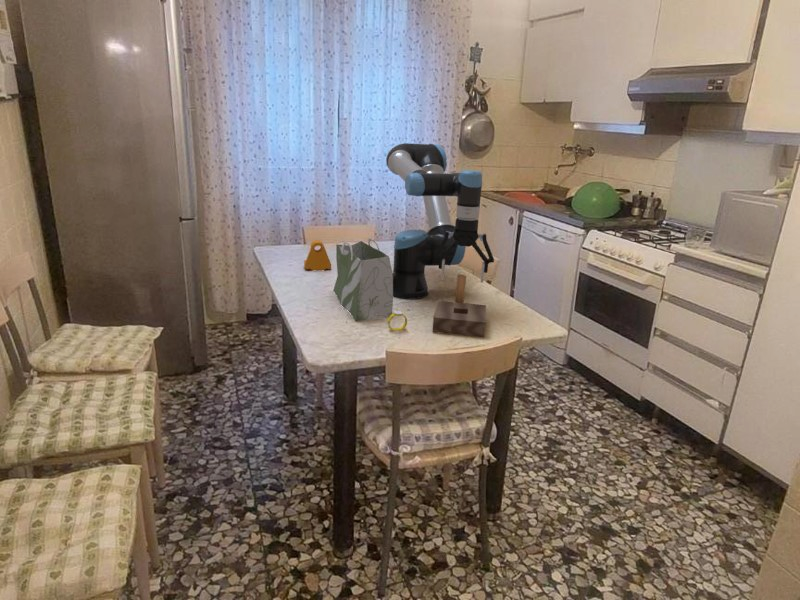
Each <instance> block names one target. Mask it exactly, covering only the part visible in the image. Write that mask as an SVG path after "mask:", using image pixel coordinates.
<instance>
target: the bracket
mask: <svg viewBox="0 0 800 600" xmlns="http://www.w3.org/2000/svg"><path fill="white" fill-rule="evenodd" d="M317 246H320V248H319V249H315V248H316V247H317ZM303 264H304V265H303V266H304V269H305V270H311V271H312V270H324V271H326V270H327V269H328V270H329V269H332V263H331V260H330V259H329V256H328V253H327V251H326V248H325V245H324V243H323V241H321V240H317V239H316V240H313V241H311V244H310V249H309V252H308V254H307V257H306V259H305V260H303Z"/></svg>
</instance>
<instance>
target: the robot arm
mask: <svg viewBox="0 0 800 600" xmlns="http://www.w3.org/2000/svg"><path fill="white" fill-rule="evenodd" d="M385 159H386V160H385V162H386V165H387V168H388V170H389V171H390V172H392V174H394V175H396V176H397V175H398V176H399V177H400V178H401V180H403V182H404V189H405V193H406V194H407V195H408V196H411V197H412V196H414V197H422V198H423V199H422V200H423V203H424V208H425V212H426V213H425V214H426V217H427V223H428V228H429V229H428V231H426V230H424V229H407V230H403V231H400V232H398V233H397V234H396V235H395V237H394V245H393V248H394V249H393V268H392V273H393V297H395V298H399V299H405V300H406V299H408V300H413V299H421V298H424V297H426V296H428V295H429V287H428V282H427V278H426V274H425V269H426V267H427V266H428V267H429V266H430V267H433V266H438V270H441V274H440V279H441V280H444V277H445V267H446V266H455V265H459V264H460V263H461V262H462V261H463V260H464V257H465V255H466V247H467V248H469V247H471V246H472V248H473V249H474V250H475V252H476V253H477V254H478V256H479V257H480V259H481V260H482V262H481V263H482V264H481V265H482V267H481V274H480V283H484V275H485V274H486V273H488V268H489V264H491V263H494V262H495V258H494V256H493V252H492V249H491V248H490V246H489V243H488V241H487V240H488V239H487V233H482V234H480V233H478V229H479V217H480V210H481V209H480V206H481V196H482V186H483V173H482V172H481V171H479V170H473V169H472V170H471V169H463V170H460V171H459V172H452V173H451V172H450V173H446V169H447V164H448V162H447V160H448V159H447V153H446V151H445V149H444V147H443V146H442V145H439V144H435V143H434V144H433V143H429V144H426V143H424V144H423V143H409V142H408V143H407V142H406V143H405V142H404V143H400V144H397V145H395V146H393V147H392V148H391V149H390V150H389V151H388V153H387V155H386V158H385ZM446 197H457V199H456V200H457V201H456V213H455V217H457V218H456V219H455V223H454V224H452V219H451V216H450V212H449V211H450V210H449V206H448V201H447V198H446ZM478 239H480V241H481V242H482V244H483V246H484V248H485V251H486V254H487V256H488V258H487V256H486V254H485V253H484V252H483V250H482V249H481V248H480V246H479V244H478V243H477V242H476V241H478Z"/></svg>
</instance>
